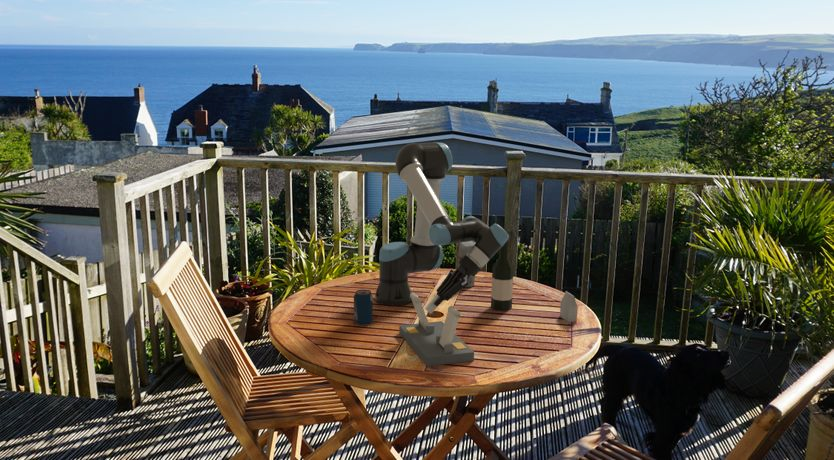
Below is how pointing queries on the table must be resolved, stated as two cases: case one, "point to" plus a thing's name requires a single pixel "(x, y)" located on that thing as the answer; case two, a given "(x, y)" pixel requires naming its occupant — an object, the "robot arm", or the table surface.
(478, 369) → the table surface
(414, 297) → the lever
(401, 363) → the table surface
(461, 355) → the switch board
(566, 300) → the tea bag
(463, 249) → the spray can
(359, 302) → the soda can
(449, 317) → the lever
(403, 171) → the robot arm
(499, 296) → the wine bottle
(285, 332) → the table surface
